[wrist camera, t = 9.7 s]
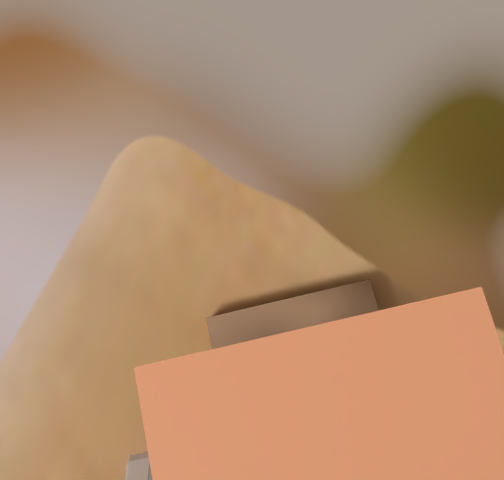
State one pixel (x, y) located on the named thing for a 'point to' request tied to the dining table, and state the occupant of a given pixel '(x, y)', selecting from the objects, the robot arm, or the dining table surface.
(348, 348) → the salmon pink toy brick
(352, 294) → the post stand
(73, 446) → the dining table surface
